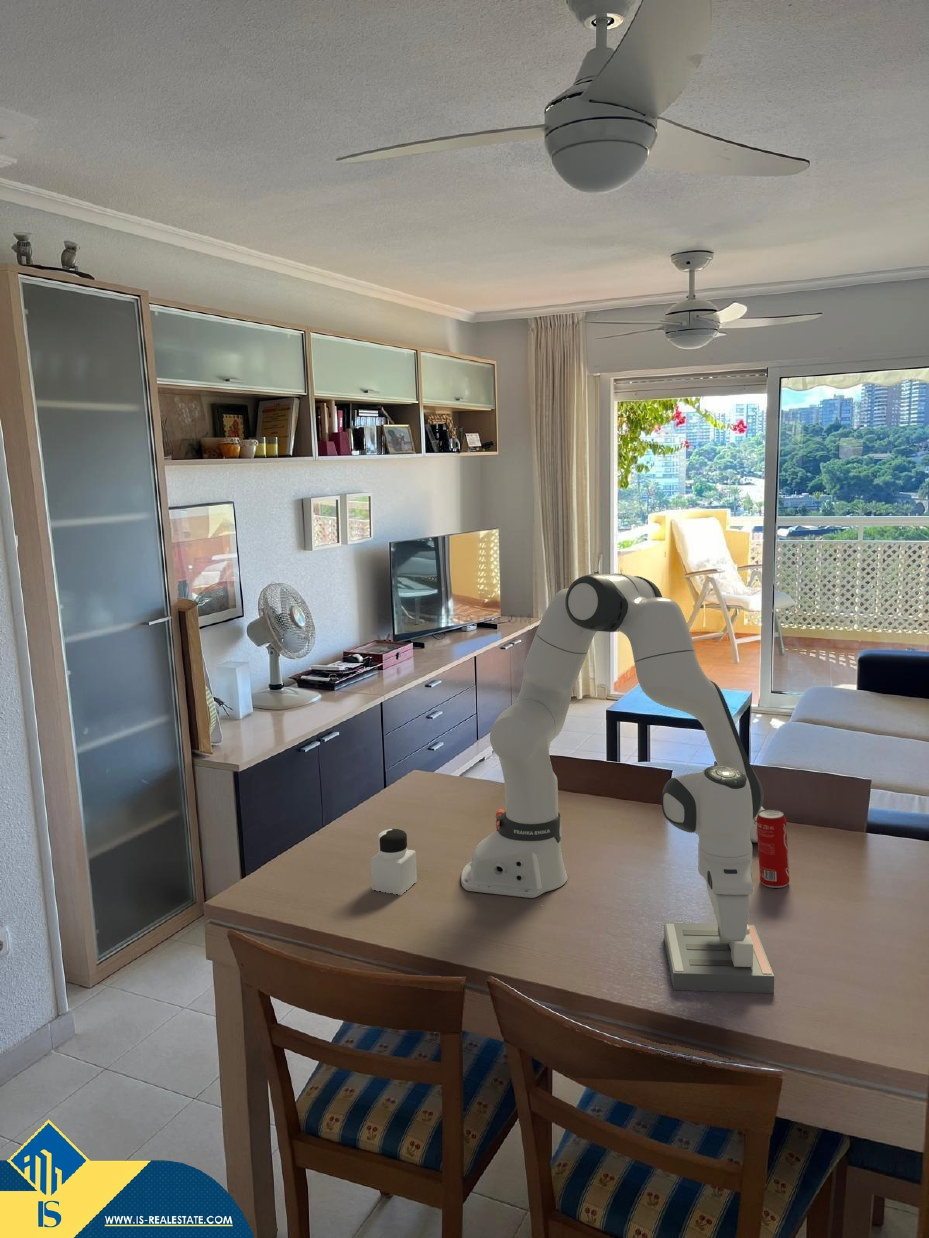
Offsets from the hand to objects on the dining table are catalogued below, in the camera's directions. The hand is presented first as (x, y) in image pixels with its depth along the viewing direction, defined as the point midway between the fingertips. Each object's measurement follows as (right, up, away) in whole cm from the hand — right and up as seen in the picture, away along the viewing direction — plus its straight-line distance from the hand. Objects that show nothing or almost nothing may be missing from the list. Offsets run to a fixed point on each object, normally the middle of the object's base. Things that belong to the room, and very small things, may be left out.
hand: (724, 939), depth 156 cm
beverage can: (+19, +1, +31) cm, 36 cm away
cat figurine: (+20, +4, +52) cm, 56 cm away
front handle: (+1, -2, -5) cm, 5 cm away
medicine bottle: (-59, -2, +36) cm, 69 cm away
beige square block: (+2, -1, 0) cm, 3 cm away
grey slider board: (-1, -5, +1) cm, 5 cm away
